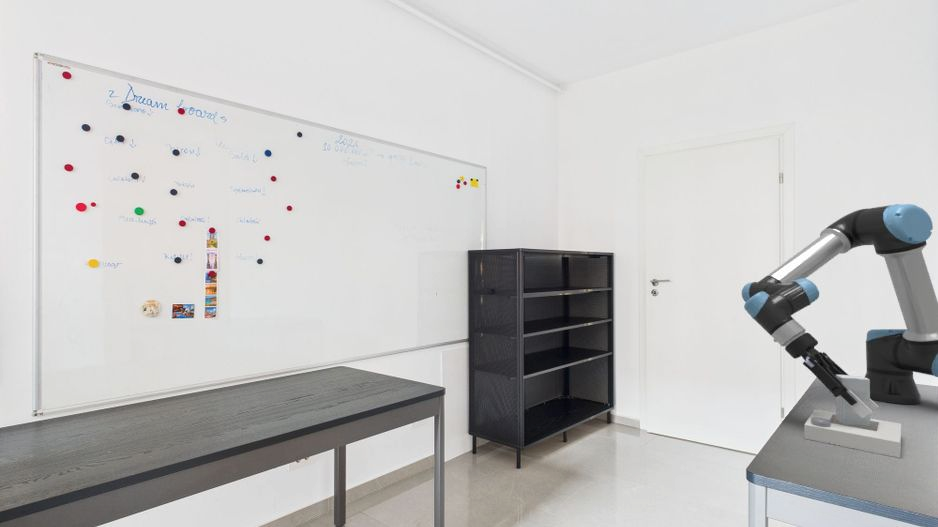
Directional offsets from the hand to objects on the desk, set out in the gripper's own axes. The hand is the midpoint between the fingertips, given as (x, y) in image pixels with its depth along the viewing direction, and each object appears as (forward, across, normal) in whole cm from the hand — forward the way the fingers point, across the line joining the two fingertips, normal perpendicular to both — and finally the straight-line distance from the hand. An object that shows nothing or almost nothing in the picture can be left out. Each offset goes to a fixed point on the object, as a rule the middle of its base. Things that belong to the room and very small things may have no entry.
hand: (870, 412), depth 120 cm
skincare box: (0, 0, -5) cm, 5 cm away
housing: (+3, +2, -7) cm, 8 cm away
